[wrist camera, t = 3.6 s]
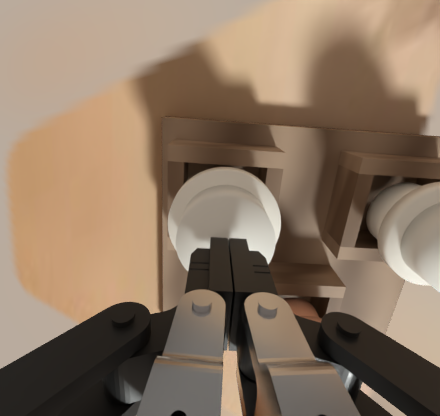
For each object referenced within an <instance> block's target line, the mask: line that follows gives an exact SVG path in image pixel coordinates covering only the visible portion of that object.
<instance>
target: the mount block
mask: <svg viewBox="0 0 440 416" xmlns="http://www.w3.org/2000/svg"><path fill="white" fill-rule="evenodd" d="M216 167H232V168H238V169H242V170H244V171H247V172H249V173H251V174H253V175H254V176H256V177H257V178H259V179H260V180H261V181H262V182H263V183H264V184H265V185H266V186H267V188H268V189H269V190H270V192H271V193H272V195H273V196H274V198H275V200H276V202H277V204H278V207H279V210H280V215H281V230H280V234H279V238H278V240H277V243H276V245H275V251H274V254H273V257H272V259H271V261H270V263H269V264H268V267H269V269H270V274H271V275H272V278H273V281H274V284H275V287H276V290H277V293H278V296H279V297H281V298H282V299H284V298H300V299H303V300H306V301H308V302H309V303H310V304H312V305H313V307H314V308H315V310H316V312H317V314H318V316H319V318H323V316H324V315H325V314H327V313H330V312H342V313H347V314H350V315H352V316H354V317H356V318H358V319H360V320H362V321H363V322H365V323H367V324H368V325H370V326H371V327H373V328H375V329H376V330H378V331H380V332H381V333H383V334H385V333H386V331H387V328H388V326H389V323H390V320H391V317H392V315H393V312H394V309H395V306H396V304H397V301H398V298H399V295H400V293H401V290H402V287H403V285H404V282H405V280H404V279H403V278H401V277H400V276H399V275H398V274H396V273H395V272H394V271H393V270H392V269H391V268H390V267H389V266H388V265H387V264H386V263H385V262H384V261H383V259H382V257H381V255H380V253H379V250H378V242H377V239H376V238H375V237H374V236H373V235H372V234H371V233H370V231H369V230H368V227H367V223H366V216H367V211H368V208H369V206H370V204H371V203H372V201H373V200H374V198H375V197H376V196H377V195H378V194H379V193H380V192H382V191H383V190H384V189H386V188H388V187H390V186H392V185H395V184H398V183H404V182H410V183H415V184H418V185H421V186H423V185H426V184H430V183H434V182H440V137H439V136H425V135H412V134H398V133H384V132H371V131H357V130H343V129H329V128H316V127H302V126H288V125H274V124H261V123H247V122H233V121H219V120H206V119H192V118H178V117H162V234H163V312H164V311H167V310H170V309H172V308H174V307H175V306H177V305H178V302H179V300H180V298H181V297H182V296H183V295H184V294H185V288H186V282H187V275H188V271H187V270H186V269H185V268H184V266H183V265H182V263H181V261H180V259H179V257H178V254H177V251H176V250H175V248H174V246H173V244H172V242H171V239H170V236H169V232H168V215H169V211H170V208H171V205H172V203H173V200H174V198H175V196H176V194H177V193H178V191H179V190H180V188H181V187H182V186H183V185H184V184H185V183H186V181H187V180H189V179H190V178H191V177H193V176H194V175H196V174H198V173H200V172H202V171H204V170H207V169H211V168H216Z"/></svg>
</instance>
